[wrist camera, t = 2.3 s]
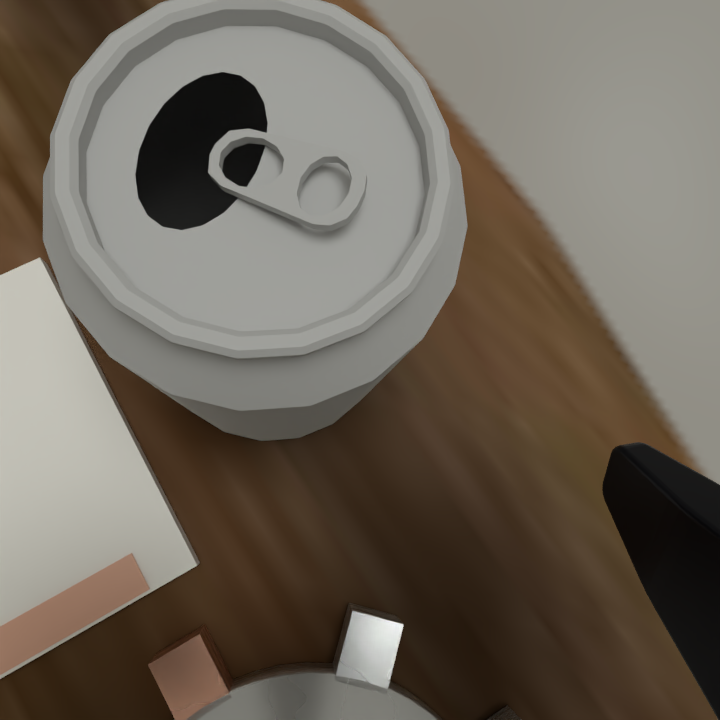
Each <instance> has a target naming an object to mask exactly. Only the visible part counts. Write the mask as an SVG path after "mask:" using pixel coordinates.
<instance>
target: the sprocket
mask: <svg viewBox="0 0 720 720" xmlns="http://www.w3.org/2000/svg"><path fill="white" fill-rule="evenodd" d="M403 625H404V624H403V623H402V622H401V620H400V619H399V618H398V617H397V616H396V615H392V614H389V613H385V612H381V611H378V610H374V609H370V608H367V607H363V606H359V605H356V604H352V603H349V604H348V607H347V611H346V615H345V619H344V622H343V626H342V630H341V634H340V638H339V641H338V645H337V649H336V653H335V656H334V660H333V663H315V662H305V663H294V664H283V665H279V666H274V667H270V668H266V669H261V670H257V671H255V672H252V673H249V674H247V675H244V676H241V677H239V678H236V679H232V677H231V675H230V673H229V671H228V669H227V667H226V665H225V663H224V661H223V659H222V657H221V656H220V654H219V652H218V650H217V648H216V646H215V644H214V642H213V640H212V638H211V636H210V634H209V632H208V630H207V628H206V626H205V625H203V626H201V627H200V628H198V629H196V630H194V631H193V632H191V633H189V634H188V635H186V636H184V637H183V638H181V639H179V640H178V641H176V642H174V643H173V644H171V645H169V646H168V647H166V648H164V649H163V650H161V651H159V652H158V653H156V655H155V656H154V657H153V659H152V660H151V662H150V663H149V664H148V666H149V668H150V670H151V672H152V674H153V676H154V678H155V680H156V682H157V684H158V686H159V688H160V690H161V692H162V694H163V696H164V698H165V700H166V702H167V704H168V706H169V708H170V710H171V712H172V714H173V717H174V720H443V719H442V718H441V717H440V716H438V715H437V714H436V713H435V712H434V711H433V710H432V709H431V708H430V707H429V706H428V705H427V704H426V703H424V702H423V701H422V700H420V699H419V698H418V697H416V696H415V695H413V694H412V693H410V692H409V691H408V690H406V689H405V688H403V687H401V686H399V685H398V684H396V683H394V682H392V681H390V678H391V674H392V670H393V666H394V662H395V658H396V654H397V650H398V645H399V641H400V637H401V633H402V629H403ZM486 720H521V719H520V718H519V717H518V716H517V715H516V714H515V713H514V711H513V710H512V709H511V708H510V707H509V706H508V705H507V706H505V707H504V708H502V709H501V710H499V711H498V712H496V713H495V714H494V715H492V716H491V717H489V718H488V719H486Z"/></svg>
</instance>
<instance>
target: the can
mask: <svg viewBox="0 0 720 720" xmlns="http://www.w3.org/2000/svg"><path fill="white" fill-rule="evenodd" d="M466 230H467V218H466V209H465V201H464V192H463V184H462V176H461V167H460V165H459V162H458V160H457V158H456V156H455V154H454V152H453V150H452V147H451V145H450V138H449V130H448V128H447V126H446V124H445V122H444V120H443V117H442V115H441V113H440V111H439V109H438V107H437V104H436V102H435V100H434V98H433V96H432V94H431V91H430V89H429V87H428V85H427V83H426V81H425V79H424V78H423V77H422V75H421V74H420V73H419V72H418V71H417V70H416V69H415V68H414V67H413V65H412V64H411V63H410V62H409V61H408V60H407V59H406V58H405V57H404V55H403V54H402V53H401V52H400V51H399V50H398V49H397V48H396V47H395V45H394V44H393V43H392V42H391V41H390V40H389V39H388V38H387V37H386V36H385V35H383V34H382V33H380V32H379V31H377V30H375V29H374V28H372V27H371V26H369V25H367V24H366V23H364V22H363V21H361V20H359V19H358V18H356V17H355V16H353V15H351V14H350V13H348V12H347V11H345V10H343V9H342V8H340V7H339V6H337V5H334V4H331V3H328V2H324V1H321V0H169V1H165V2H161V3H159V4H158V5H156V6H154V7H153V8H151V9H149V10H148V11H146V12H145V13H143V14H141V15H140V16H138V17H137V18H135V19H133V20H132V21H130V22H129V23H127V24H125V25H124V26H122V27H121V28H119V29H117V30H116V31H114V32H113V33H111V34H109V35H108V37H107V38H106V39H105V40H104V41H103V43H102V44H101V45H100V46H99V47H98V49H97V50H96V51H95V52H94V53H93V55H92V56H91V57H90V58H89V59H88V61H87V62H86V63H85V64H84V65H83V67H82V68H81V69H80V70H79V71H78V72H77V74H76V75H75V76H74V77H73V78H72V80H71V82H70V84H69V87H68V90H67V92H66V95H65V98H64V100H63V103H62V106H61V109H60V111H59V114H58V117H57V119H56V122H55V125H54V127H53V130H52V133H51V135H50V159H49V162H48V164H47V167H46V170H45V172H44V175H43V242H44V245H45V247H46V250H47V253H48V256H49V258H50V261H51V264H52V267H53V270H54V272H55V275H56V278H57V281H58V283H59V286H60V289H61V292H62V294H63V297H64V300H65V303H66V304H67V305H68V307H69V308H70V309H71V310H72V311H73V313H74V314H75V315H76V316H77V318H78V319H79V320H80V321H81V322H82V324H83V325H84V326H85V327H86V328H87V330H88V331H89V332H90V333H91V335H92V336H93V337H94V338H95V339H96V341H97V342H98V343H99V344H100V345H101V347H102V348H103V349H104V350H105V352H106V353H107V354H108V355H109V356H110V357H111V358H112V359H114V360H115V361H117V362H118V363H120V364H121V365H123V366H124V367H126V368H127V369H129V370H130V371H132V372H133V373H135V374H136V375H138V376H139V377H141V378H142V379H144V380H145V381H147V382H148V383H150V384H151V385H153V386H154V387H156V388H157V389H159V390H160V391H162V392H163V393H165V394H166V395H168V396H169V397H171V398H172V399H173V400H175V401H176V402H178V403H179V404H181V405H182V406H184V407H185V408H187V409H188V410H190V411H191V412H193V413H194V414H196V415H198V416H199V417H201V418H203V419H204V420H206V421H207V422H209V423H211V424H212V425H214V426H215V427H217V428H219V429H220V430H222V431H224V432H226V433H230V434H234V435H238V436H243V437H247V438H251V439H255V440H259V441H268V440H281V439H294V438H300V437H303V436H305V435H307V434H310V433H312V432H315V431H317V430H320V429H322V428H324V427H327V426H329V425H332V424H333V423H335V422H336V421H337V420H338V419H339V418H341V417H342V416H343V415H344V414H345V413H346V412H348V411H349V410H350V409H351V408H352V407H353V406H355V405H356V404H357V403H358V402H359V401H360V400H361V399H363V398H364V397H365V396H366V395H367V394H368V393H369V392H370V391H371V390H372V389H373V388H374V387H375V386H376V385H377V384H378V383H379V382H380V381H381V380H382V379H383V378H384V377H385V376H386V375H387V374H388V373H389V372H390V371H391V370H392V369H393V368H394V367H395V366H396V365H397V364H398V363H399V362H400V361H401V360H402V359H403V358H404V357H405V356H406V355H407V354H408V353H409V352H410V351H411V350H412V349H413V348H414V347H415V346H416V345H417V344H418V343H419V342H420V341H421V340H422V339H423V338H424V336H425V334H426V333H427V331H428V329H429V327H430V326H431V324H432V322H433V321H434V319H435V317H436V316H437V314H438V312H439V311H440V309H441V307H442V306H443V304H444V302H445V301H446V299H447V297H448V296H449V294H450V292H451V291H452V289H453V287H454V286H455V283H456V278H457V273H458V268H459V264H460V259H461V254H462V249H463V245H464V240H465V235H466Z"/></svg>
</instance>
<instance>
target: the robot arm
mask: <svg viewBox="0 0 720 720" xmlns="http://www.w3.org/2000/svg"><path fill="white" fill-rule="evenodd" d="M603 496H604V499H605V502H606V504H607V506H608V509H609V511H610V513H611V515H612V518H613V520H614V522H615V524H616V527H617V529H618V531H619V533H620V536H621V538H622V540H623V542H624V545H625V547H626V549H627V552H628V554H629V556H630V558H631V561H632V563H633V565H634V567H635V570H636V572H637V574H638V576H639V578H640V581H641V583H642V585H643V587H644V589H645V591H646V593H647V595H648V597H649V599H650V600H651V602H652V604H653V606H654V608H655V610H656V611H657V613H658V615H659V617H660V618H661V620H662V622H663V624H664V625H665V627H666V629H667V631H668V632H669V634H670V636H671V638H672V639H673V641H674V643H675V644H676V646H677V648H678V650H679V651H680V653H681V655H682V657H683V658H684V660H685V662H686V664H687V665H688V667H689V669H690V671H691V672H692V674H693V676H694V678H695V679H696V681H697V683H698V685H699V686H700V688H701V690H702V692H703V693H704V695H705V697H706V699H707V700H708V702H709V704H710V706H711V707H712V709H713V711H714V713H715V714H716V716H717V718H718V720H720V485H719V484H717V483H716V482H714V481H712V480H710V479H708V478H707V477H705V476H703V475H701V474H699V473H698V472H696V471H694V470H692V469H690V468H689V467H687V466H685V465H683V464H681V463H680V462H678V461H676V460H674V459H672V458H671V457H669V456H667V455H665V454H663V453H662V452H660V451H658V450H656V449H654V448H653V447H651V446H649V445H647V444H645V443H640V442H638V443H631V444H625V445H619V446H617V447H615V448H614V449H613V451H612V453H611V456H610V459H609V463H608V467H607V470H606V474H605V477H604V481H603Z"/></svg>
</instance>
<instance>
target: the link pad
mask: <svg viewBox="0 0 720 720" xmlns="http://www.w3.org/2000/svg"><path fill="white" fill-rule="evenodd" d="M199 563H200V562H199V560H198V558H197V556H196V554H195V552H194V550H193V548H192V546H191V544H190V542H189V540H188V538H187V536H186V534H185V532H184V530H183V528H182V527H181V525H180V523H179V521H178V519H177V517H176V515H175V513H174V511H173V509H172V507H171V505H170V503H169V501H168V499H167V497H166V495H165V493H164V491H163V489H162V487H161V486H160V484H159V482H158V480H157V478H156V476H155V474H154V472H153V470H152V468H151V466H150V464H149V462H148V460H147V458H146V456H145V454H144V452H143V450H142V448H141V446H140V444H139V443H138V441H137V439H136V437H135V435H134V433H133V431H132V429H131V427H130V425H129V423H128V421H127V419H126V417H125V415H124V413H123V411H122V409H121V407H120V405H119V403H118V402H117V400H116V398H115V396H114V394H113V392H112V390H111V388H110V386H109V384H108V382H107V380H106V378H105V376H104V374H103V372H102V370H101V368H100V366H99V364H98V362H97V360H96V359H95V357H94V355H93V353H92V351H91V349H90V347H89V345H88V343H87V341H86V339H85V337H84V335H83V333H82V331H81V329H80V327H79V325H78V323H77V321H76V319H75V318H74V316H73V314H72V312H71V310H70V308H69V307H68V305H67V304H66V303H65V300H64V297H63V294H62V292H61V290H60V288H59V286H58V284H57V282H56V280H55V278H54V276H53V275H52V273H51V271H50V269H49V267H48V265H47V263H46V262H44V261H43V260H42V259H41V258H38V259H36V260H33V261H31V262H29V263H27V264H25V265H22V266H20V267H18V268H16V269H13V270H11V271H9V272H7V273H4V274H2V275H0V679H1V678H3V677H5V676H6V675H8V674H10V673H11V672H13V671H15V670H17V669H18V668H20V667H22V666H24V665H25V664H27V663H29V662H31V661H32V660H34V659H36V658H38V657H39V656H41V655H43V654H44V653H46V652H48V651H50V650H51V649H53V648H55V647H57V646H58V645H60V644H62V643H64V642H65V641H67V640H69V639H71V638H72V637H74V636H76V635H78V634H79V633H81V632H83V631H84V630H86V629H88V628H90V627H91V626H93V625H95V624H97V623H98V622H100V621H102V620H104V619H105V618H107V617H109V616H111V615H112V614H114V613H116V612H117V611H119V610H121V609H123V608H124V607H126V606H128V605H130V604H131V603H133V602H135V601H137V600H138V599H140V598H142V597H144V596H145V595H147V594H149V593H150V592H152V591H154V590H156V589H157V588H159V587H161V586H163V585H164V584H166V583H168V582H170V581H171V580H173V579H175V578H177V577H178V576H180V575H182V574H184V573H185V572H187V571H189V570H190V569H192V568H194V567H196V566H197V565H198V564H199Z"/></svg>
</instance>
